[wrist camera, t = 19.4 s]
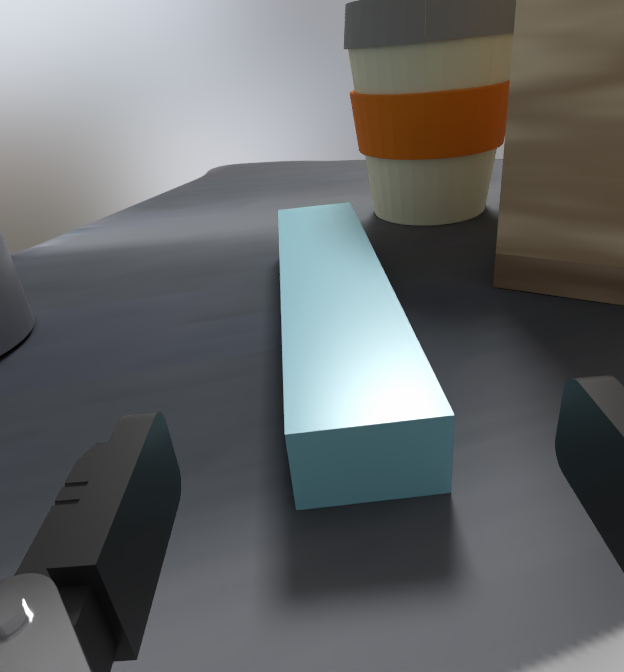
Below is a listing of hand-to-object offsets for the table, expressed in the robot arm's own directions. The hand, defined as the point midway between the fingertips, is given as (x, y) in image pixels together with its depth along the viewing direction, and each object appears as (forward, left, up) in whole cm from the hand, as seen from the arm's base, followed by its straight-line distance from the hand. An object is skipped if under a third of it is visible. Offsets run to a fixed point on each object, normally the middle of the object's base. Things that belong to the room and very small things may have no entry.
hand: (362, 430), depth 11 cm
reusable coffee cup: (-28, +23, -6) cm, 37 cm away
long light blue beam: (-14, +7, -5) cm, 16 cm away
